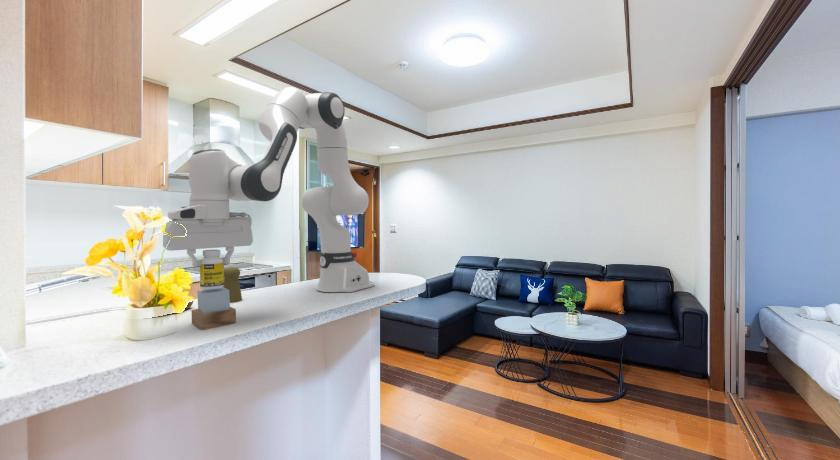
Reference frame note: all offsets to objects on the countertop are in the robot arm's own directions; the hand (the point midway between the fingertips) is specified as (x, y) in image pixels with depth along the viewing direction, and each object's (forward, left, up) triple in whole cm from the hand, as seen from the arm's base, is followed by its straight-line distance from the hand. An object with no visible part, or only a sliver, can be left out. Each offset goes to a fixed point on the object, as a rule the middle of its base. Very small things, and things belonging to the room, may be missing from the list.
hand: (211, 265), depth 93 cm
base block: (0, 0, -15) cm, 16 cm away
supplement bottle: (0, 0, -6) cm, 6 cm away
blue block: (0, 0, -12) cm, 12 cm away
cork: (-13, -23, -15) cm, 31 cm away
